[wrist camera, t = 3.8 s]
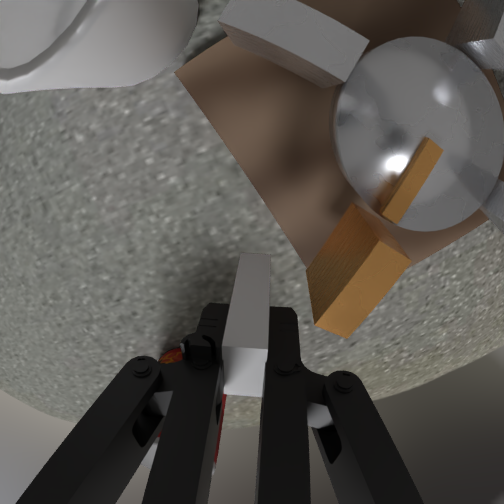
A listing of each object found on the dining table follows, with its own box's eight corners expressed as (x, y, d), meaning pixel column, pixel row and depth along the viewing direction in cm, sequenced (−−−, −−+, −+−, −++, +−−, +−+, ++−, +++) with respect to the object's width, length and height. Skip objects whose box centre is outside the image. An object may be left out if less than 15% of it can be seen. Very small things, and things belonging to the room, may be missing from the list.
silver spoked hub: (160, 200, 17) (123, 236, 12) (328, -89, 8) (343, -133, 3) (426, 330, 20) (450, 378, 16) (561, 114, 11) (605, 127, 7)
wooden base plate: (180, 74, 17) (160, 68, 14) (419, -36, 11) (442, -53, 8) (328, 296, 24) (336, 328, 21) (516, 187, 18) (544, 204, 15)
